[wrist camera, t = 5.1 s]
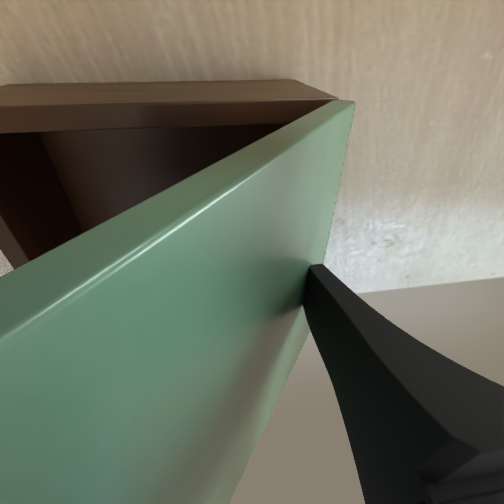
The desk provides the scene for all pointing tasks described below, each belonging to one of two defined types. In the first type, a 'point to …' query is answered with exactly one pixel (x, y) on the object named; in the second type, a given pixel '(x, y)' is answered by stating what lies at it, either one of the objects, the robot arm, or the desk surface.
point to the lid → (167, 329)
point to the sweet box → (121, 147)
